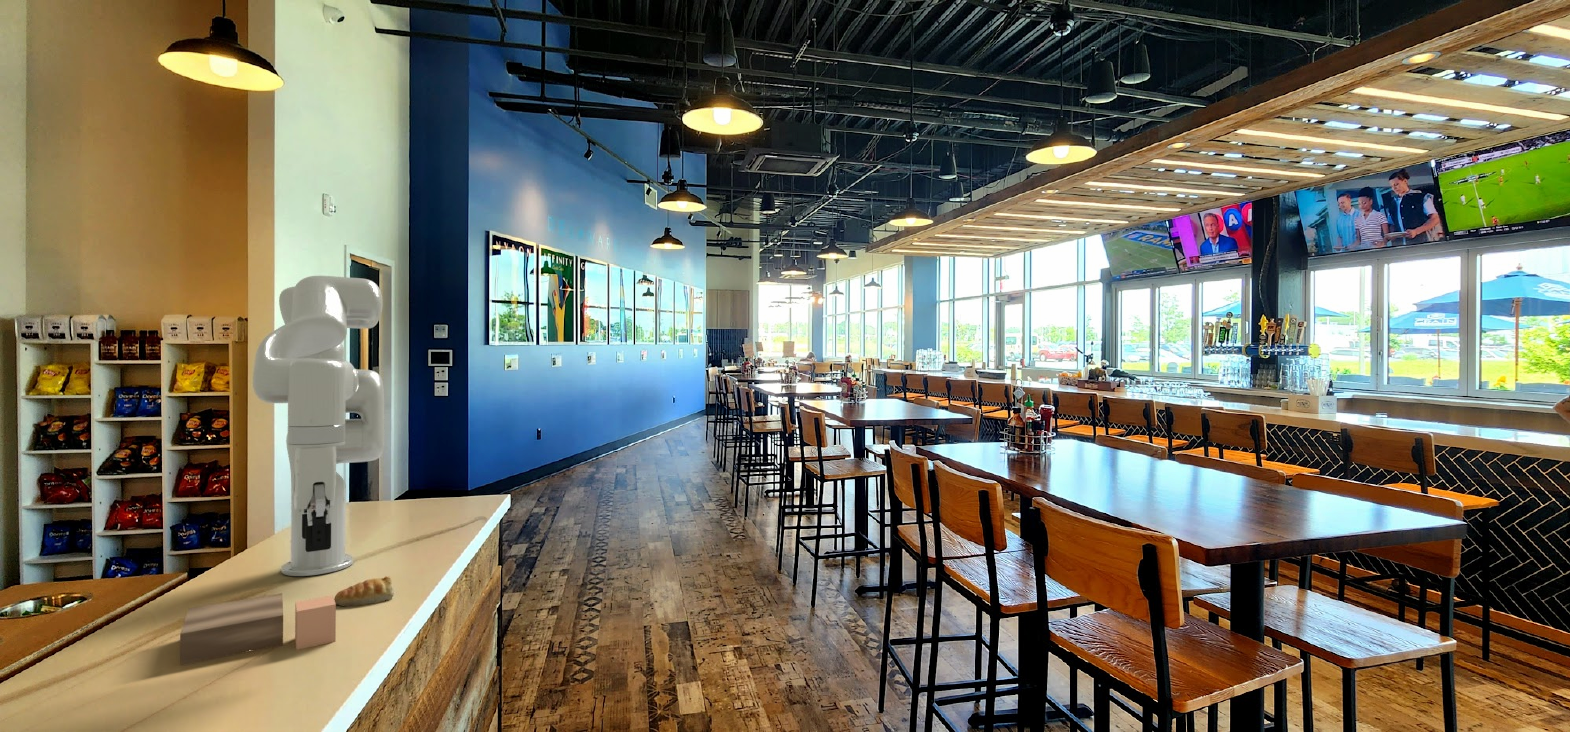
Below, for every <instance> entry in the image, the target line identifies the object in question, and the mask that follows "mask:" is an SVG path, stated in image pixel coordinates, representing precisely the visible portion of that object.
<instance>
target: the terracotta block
mask: <svg viewBox="0 0 1570 732" xmlns="http://www.w3.org/2000/svg"><path fill="white" fill-rule="evenodd" d="M334 598H335V596H334V595H327V596H322V597H316V598H309V599H305V600H298V601H295V604H294V605H295V610H294V611H295V612H294V614H295V615H294V617H295V619H294V620H295V623H294V624H295V625H294V628H295V629H294V639H295V647H296V648H295V649H296V650H301V649H306V648H307V649H308V648H311V647H315V646H321V645H325V644H326V645H327V644H329V643H333V642H334V643H335V642H336V641H337V640H336V637H337V636H336V633H337V632H336V626H337V625H336V624H337V622H336V621H337V619H336V617H337V616H336V615H337V613H336V610H337V609H336V608H337V604H336V603H335V600H334Z"/></svg>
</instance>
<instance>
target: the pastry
mask: <svg viewBox="0 0 1570 732" xmlns="http://www.w3.org/2000/svg"><path fill="white" fill-rule="evenodd" d="M392 582H393V581H392V577H391V576H390V575H389V576H386V575H385V576H384V577H381V578H372V579H366V580H364V581H363V582H358V583H356V584H354V585H350V586H348V587H347V588H344V589H342V590H340V591H338V592H337V593H336V594H335V596H334V600H335V603H336V605H338V606H342V607H347V606H348V607H350V606H363V605H368V604H375V603H381V602H386V601H389V599H390V600H392V599H393V598H392V597H394V596H395V593H394V586H393V583H392ZM385 600H386V601H385Z"/></svg>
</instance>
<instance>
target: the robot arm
mask: <svg viewBox="0 0 1570 732" xmlns="http://www.w3.org/2000/svg"><path fill="white" fill-rule="evenodd" d="M295 284H296V285H294V286H290V287H287V288H284V289H283V290H282V291H281V292H280V294H279V297H278V304H279V305H278V306H279V310H280V314H281V318H282V320H283V323H284V324H283V325H281V326H279V327H278V328H277V329H275V330H273V331H272V332H270V333H268V335H266V336H265V337H264V338H263V339H262V341H261V342H260V343H259V345H258V347H257V349H256V353H255V358H254V366H253V372H252V373H253V374H252V387H253V391H254V394H255V395H256V397H257V398H258V399H259V400H261V401H262V402H264V403H269V404H287V434H286V440H285V441H286V443H285V444H286V450H287V455H288V461H289V470H290V487H291V488H290V489H291V490H290V491H291V493H290V497H291V499H290V560H289V561H288V562H285V563H284V564H282V566H281V571H280V572H281V574H283V575H286V576H291V577H306V576H307V577H309V576H318V575H325V574H330V573H333V572H337V571H340V570H344V569H346V568H348V567H350V566H351V565H353V563H354V557H353V555H351V554H349V553H348V554H347V553H346V493H347V492H346V483H345V480H344V478H343V477H342V475H340V473H338V472H337V465H339V464H348V463H349V464H350V463H365V462H366V463H367V462H372V461H376V460H378V459H379V458H381V457H382V455H383V453H384V447H385V390H384V382H383V379H382V377H381V375H380V374H379V373H378V372H377V371H374V370H370V369H362V368H361V369H360V368H359V369H357V368H356V367H354V365H353V364H352V363H351V362H350V361H348V360H345V348H344V345H343V342H344V341H345V339H346V337H347V333H348V329H362V330H363V329H372V328H374V327H375V326H376V325H377V324H378V322H379V320H380V319H381V316H382V312H383V307H384V306H383V301H384V300H383V296H382V291H381V289H380V287H379V286H378V284H377V283H375V282H374V281H373V280H370V279H367V278H360V277H346V276H334V275H331V276H330V275H310V276H307V277H305V278H302V279H300V280H299V281H298V282H297V283H295ZM346 413H347V414H348V413H353V414H358V415H359V416H360V418H350V419H349V418H347V419H346Z"/></svg>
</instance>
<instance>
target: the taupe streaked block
mask: <svg viewBox="0 0 1570 732" xmlns="http://www.w3.org/2000/svg"><path fill="white" fill-rule="evenodd" d="M283 599H284V597H283V593H282V592H280V593H274V594H270V595H264V596H256V597H252V598H245V599H238V600H231V601H226V602H221V603H214V604H209V605H202V606H196V607H191V608H189V607H188V609H187V612H186V615H185V618H184V620H183V621H184V622H183V625H182V628H181V630H180V633H179V635H180V636H179V659H180V660H179V666H185V665H190V664H194V663H199V662H204V661H208V660H213V659H218V658H219V659H220V658H225V657H228V656H234V655H233V654H235V655H239V654H243V653H242V652H244V653H247V652H246V651H249V650H254V651H259V650H263V649H268V648H273V647H279V646H282V645H283V646H284V600H283ZM249 652H250V651H249Z"/></svg>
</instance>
